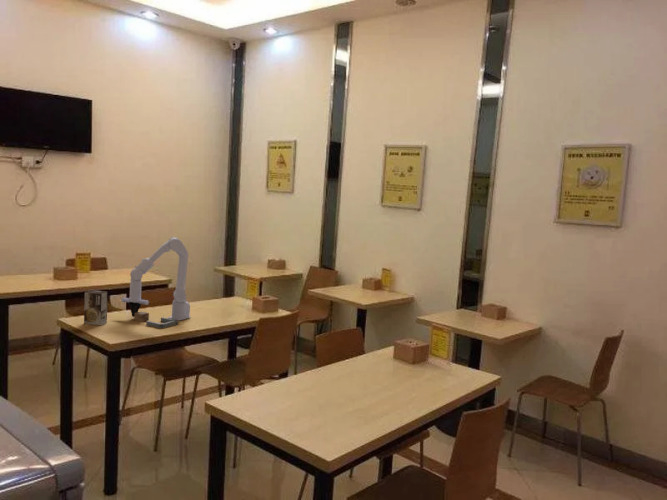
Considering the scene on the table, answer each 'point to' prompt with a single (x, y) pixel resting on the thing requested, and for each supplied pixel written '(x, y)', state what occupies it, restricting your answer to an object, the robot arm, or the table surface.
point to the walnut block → (141, 316)
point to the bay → (167, 323)
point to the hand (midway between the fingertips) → (134, 316)
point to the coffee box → (95, 307)
